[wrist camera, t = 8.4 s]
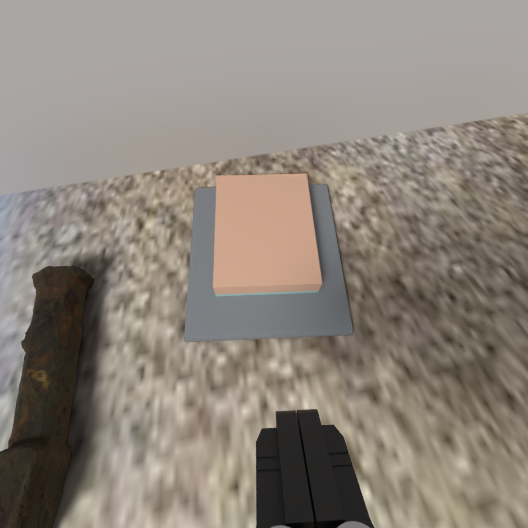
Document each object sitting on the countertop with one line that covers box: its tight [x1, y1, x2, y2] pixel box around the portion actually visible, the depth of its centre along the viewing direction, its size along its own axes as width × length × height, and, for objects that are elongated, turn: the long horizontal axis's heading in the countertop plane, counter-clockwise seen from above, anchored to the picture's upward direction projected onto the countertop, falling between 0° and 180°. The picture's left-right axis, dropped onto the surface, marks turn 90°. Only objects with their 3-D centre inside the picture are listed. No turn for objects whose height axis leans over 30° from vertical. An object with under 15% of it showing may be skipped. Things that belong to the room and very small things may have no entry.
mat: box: [184, 185, 353, 342], centre depth 29 cm, size 14×16×1 cm
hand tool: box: [0, 266, 95, 528], centre depth 22 cm, size 19×4×5 cm, turn 7°
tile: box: [213, 174, 322, 296], centre depth 29 cm, size 9×2×12 cm
